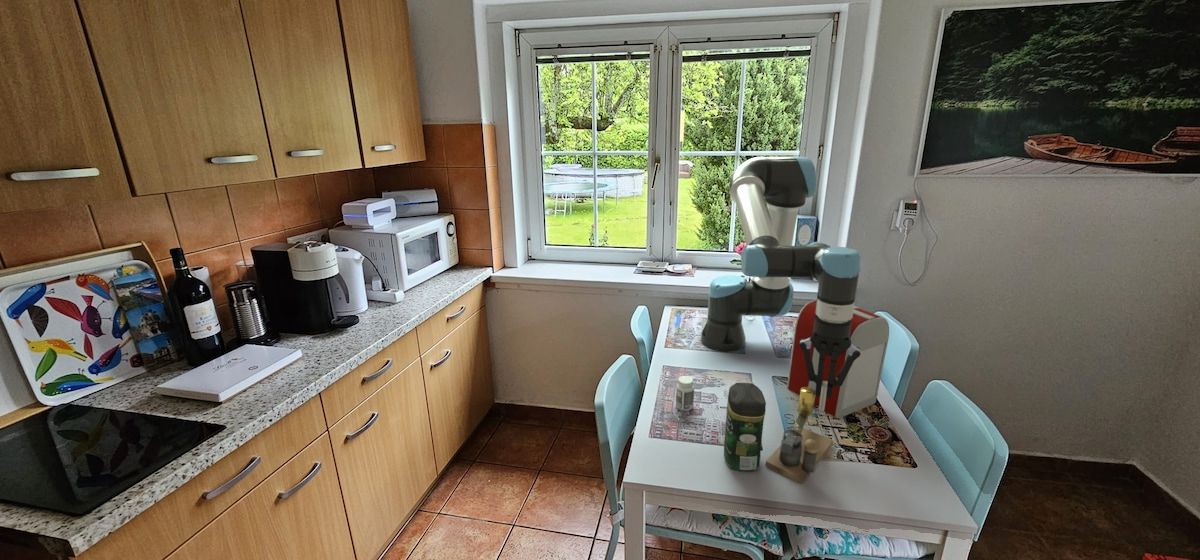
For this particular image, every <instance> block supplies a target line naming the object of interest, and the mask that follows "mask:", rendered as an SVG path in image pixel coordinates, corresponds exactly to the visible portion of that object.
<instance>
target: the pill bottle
mask: <svg viewBox="0 0 1200 560" xmlns="http://www.w3.org/2000/svg"><path fill="white" fill-rule="evenodd" d="M675 389H676V390H675V391H676V392H675V394H676V395H675V407H676V409H678V410H681V411H690V410H692V409H693V408H694V396H695V386H694V379H693V378H692V377H691V376H688V375H682V376H679V377H678V380H677V385H676V388H675Z"/></svg>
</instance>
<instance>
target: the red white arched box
mask: <svg viewBox="0 0 1200 560" xmlns="http://www.w3.org/2000/svg"><path fill="white" fill-rule="evenodd" d="M816 303H817V298H816V299H814V300H812V301H811V300H810V301H809V302H807V303H806V304H805V305H804V306H802V308H801V309H800V311H799V313H798V315H797V318H796V321H795V325H794V331H793V332H794V333H793V339H792V346H791V354H790V363H789V368H788V376H787V385H786V389H787V390H789V391H791V393H793V394H795V395H797V396H799V397H800V391H801V388H802V387H809V388H812V389H813V390H815V391H816V383H815V382H813V381H809V379H808V373H807V368H806V363H805V358H804V352H803V351H802V349H801V348H800V346H799V345H800V340H801V339H808V338H810V336H811V334H812V333H813V328H814V320H815V316H816V313H815V312H816ZM851 321H852V324H851V331H850V340H851V344H852V345H853V346H855V347H859V348H860V356H859V357H858V358H857V359H856V360H854V362H853V364H852V366H851V368H850V370H849V372H848V374H847V376H846V378H845V380H844V382H843V384H842V386H834V387H833V389H832V397H831V398H826V400H825V408H824V411H823V412H825V413H826V414H828V415H830V416H832V417H833V418H835V419H841V418H843V417H847V416H848V415H851V414H853V413H855V412H857V411H860V410H863V409H864V408H867V407H870V406H871V405H874V404H876V402H877V397H878V394H879V393H878V392H879V388H880V383H881V378H882V372H883V368H884V363H885V359H886V353H887V348H888V344H889V339H890V326H889V322H888V320H887V319H886V318H885V317H883V316H881V315H878V314H875V313H873V312H869V311H867V310H864V309H862V308H861V307H859V306H856V305H854V310H853V317H852V319H851ZM848 350H849V349H847V350H846V351H845V352H843V353H842V354H841V355H840V356H838V357H837V363H836V369H835V376H834V378H837V376H838V374H839V372H840V370H841V368H842V366H843V364H844V362H845V360H846V358H847V356H848ZM810 351H811V356H812V362H813V367H814V372H815V374H816V375H817V374H818V364H819V355H820V353H818V352H817V350H816V349H815V347H814V346H813V344H812V343H811V348H810ZM830 361H831V356H829V355H825V363H824V372H823V381H827V382H828V375H829V368H830ZM819 403H820V396H816V394H815V396H814V403H813V406H815V407H817V408H818V409H819Z"/></svg>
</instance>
